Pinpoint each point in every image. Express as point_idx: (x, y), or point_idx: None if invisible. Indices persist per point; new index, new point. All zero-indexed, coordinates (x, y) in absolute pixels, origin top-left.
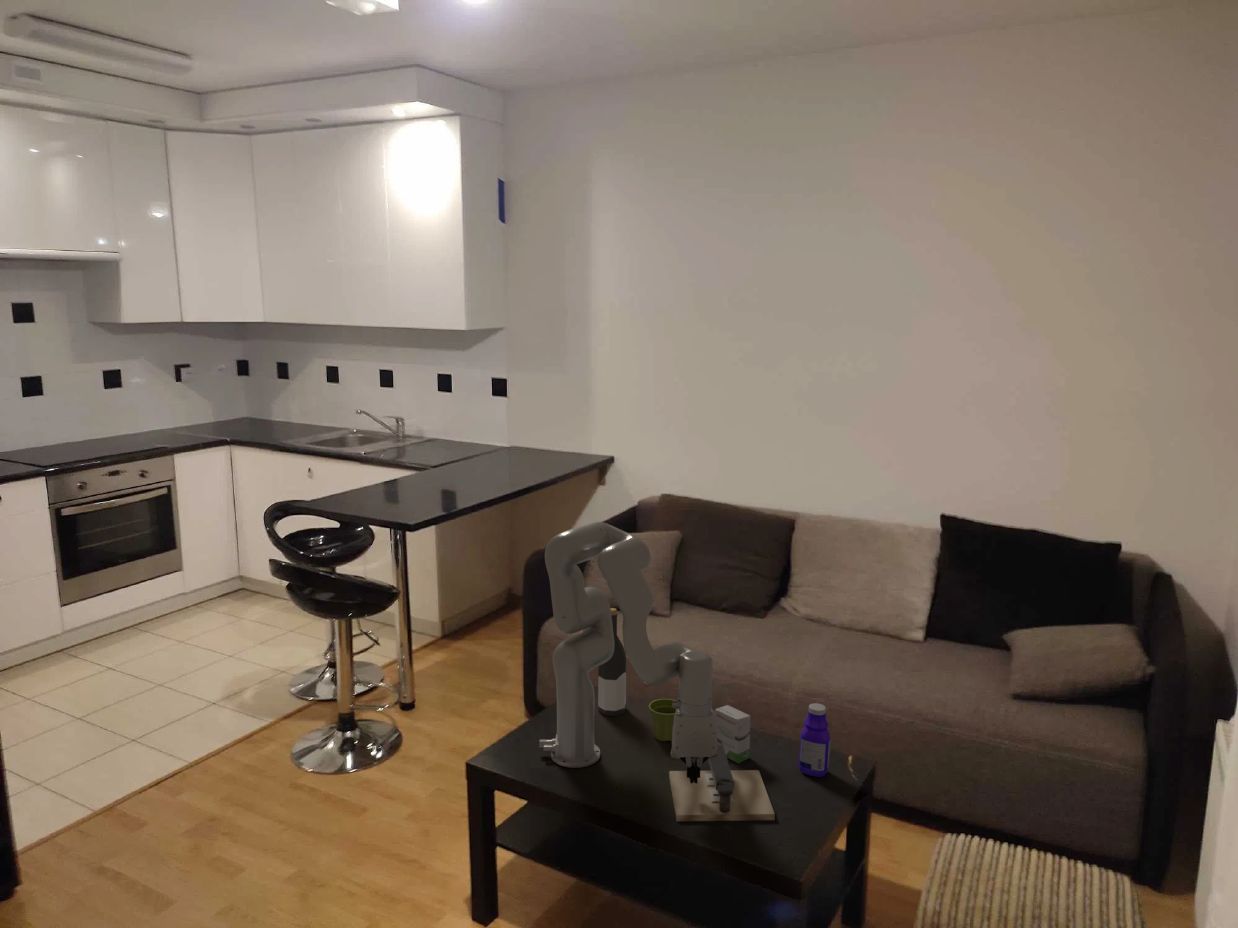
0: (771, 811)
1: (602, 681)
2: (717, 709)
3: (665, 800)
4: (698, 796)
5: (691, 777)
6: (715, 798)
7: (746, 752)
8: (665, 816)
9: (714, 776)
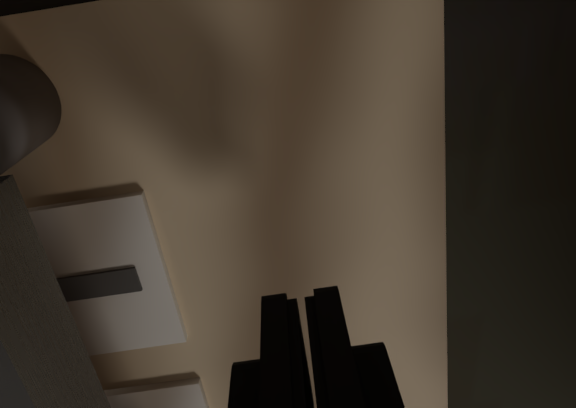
0: None
1: None
2: None
3: (485, 223)
4: (254, 255)
5: (337, 329)
6: (115, 237)
7: None
8: (512, 11)
9: (30, 367)
